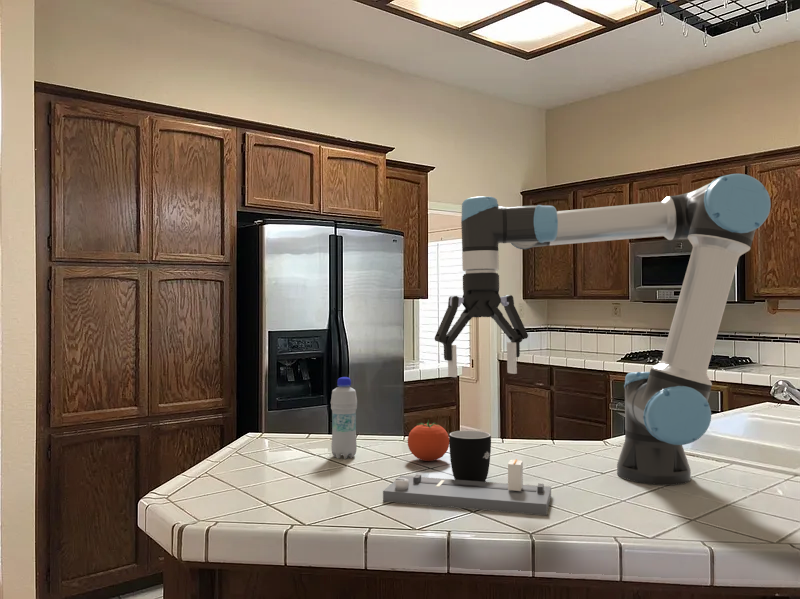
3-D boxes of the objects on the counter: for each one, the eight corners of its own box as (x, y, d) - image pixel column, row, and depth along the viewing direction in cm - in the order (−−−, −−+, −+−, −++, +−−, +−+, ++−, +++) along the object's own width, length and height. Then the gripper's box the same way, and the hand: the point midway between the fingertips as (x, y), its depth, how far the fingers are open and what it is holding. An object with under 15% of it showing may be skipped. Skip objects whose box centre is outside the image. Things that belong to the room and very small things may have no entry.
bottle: (362, 455, 167) (362, 376, 168) (346, 461, 162) (346, 378, 162) (341, 452, 171) (341, 375, 171) (325, 457, 165) (325, 377, 166)
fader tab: (522, 486, 131) (522, 459, 131) (520, 490, 127) (520, 463, 127) (510, 485, 131) (510, 458, 131) (508, 490, 128) (507, 463, 128)
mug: (488, 488, 137) (488, 439, 138) (445, 485, 140) (445, 437, 140) (495, 474, 149) (495, 428, 149) (455, 471, 151) (455, 427, 151)
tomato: (458, 462, 160) (458, 420, 160) (424, 468, 155) (423, 425, 155) (432, 454, 169) (432, 414, 169) (399, 459, 163) (399, 418, 163)
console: (551, 496, 131) (551, 478, 131) (546, 515, 120) (546, 494, 120) (400, 485, 140) (400, 467, 140) (383, 501, 129) (383, 481, 129)
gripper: (524, 273, 145) (527, 370, 145) (418, 273, 137) (420, 376, 137) (542, 271, 138) (545, 373, 138) (431, 271, 130) (433, 379, 130)
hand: (482, 375), depth 137 cm, fingers open, 13 cm apart
